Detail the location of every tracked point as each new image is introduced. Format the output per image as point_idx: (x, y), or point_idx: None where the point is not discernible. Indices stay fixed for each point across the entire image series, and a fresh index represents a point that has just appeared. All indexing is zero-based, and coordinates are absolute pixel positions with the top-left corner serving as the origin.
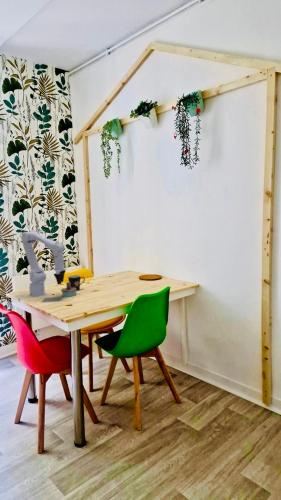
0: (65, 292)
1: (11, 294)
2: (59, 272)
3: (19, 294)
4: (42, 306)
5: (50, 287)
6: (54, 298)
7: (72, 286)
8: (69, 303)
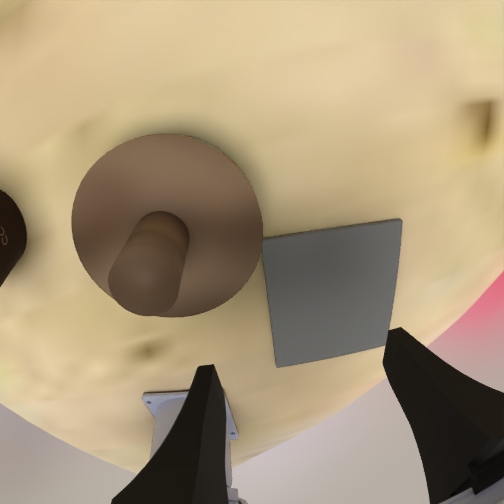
0: None
1: None
2: (482, 490)
3: None
4: (461, 297)
5: (15, 396)
6: (302, 301)
7: (5, 254)
8: (450, 127)
